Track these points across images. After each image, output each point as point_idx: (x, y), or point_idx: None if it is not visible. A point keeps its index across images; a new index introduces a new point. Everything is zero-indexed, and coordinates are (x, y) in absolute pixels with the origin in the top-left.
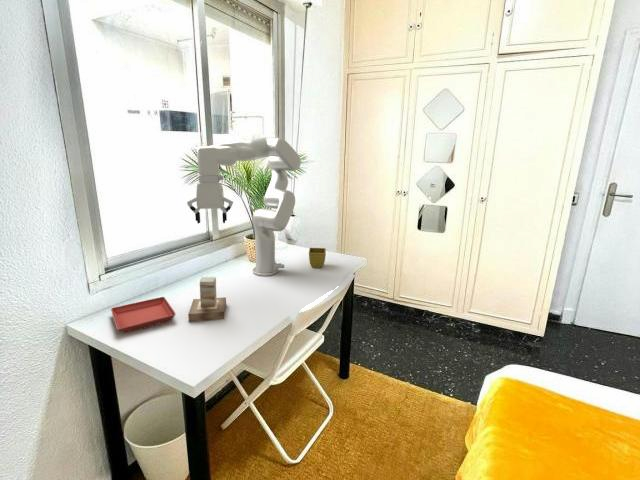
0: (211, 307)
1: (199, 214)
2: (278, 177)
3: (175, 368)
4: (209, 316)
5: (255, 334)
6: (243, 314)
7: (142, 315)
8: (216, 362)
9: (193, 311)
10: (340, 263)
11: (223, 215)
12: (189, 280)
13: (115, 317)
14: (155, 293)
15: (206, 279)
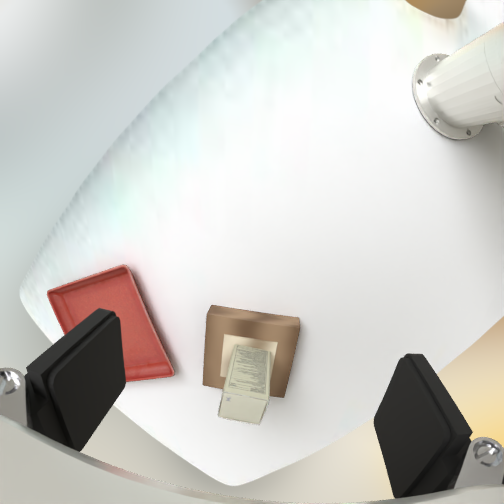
0: None
1: (72, 400)
2: None
3: (205, 466)
4: None
5: (331, 438)
6: (330, 376)
7: None
8: (258, 472)
9: (213, 378)
10: None
11: (399, 486)
12: (189, 98)
13: (66, 324)
14: (104, 187)
15: (238, 409)
